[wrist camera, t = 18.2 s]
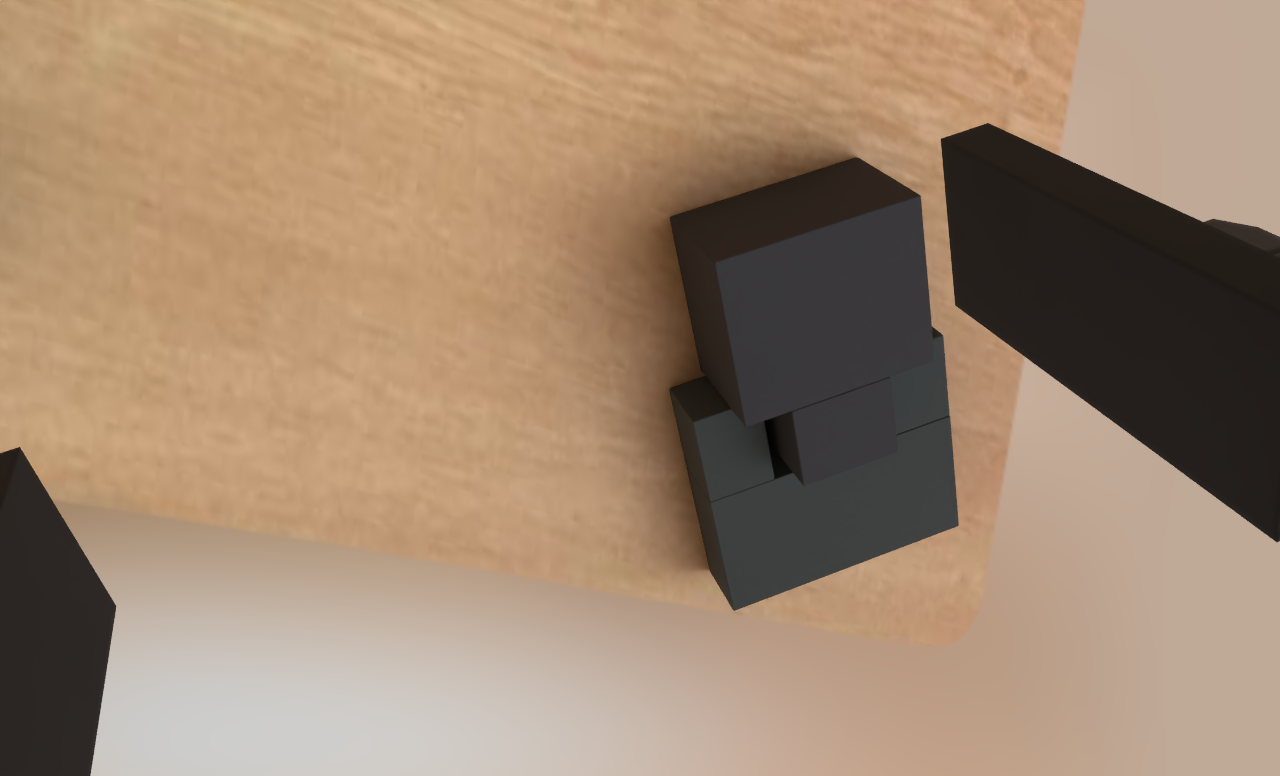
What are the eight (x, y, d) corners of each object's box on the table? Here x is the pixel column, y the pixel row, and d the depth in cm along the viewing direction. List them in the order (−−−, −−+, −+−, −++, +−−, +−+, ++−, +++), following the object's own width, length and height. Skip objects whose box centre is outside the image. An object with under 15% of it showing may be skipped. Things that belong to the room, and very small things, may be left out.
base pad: (907, 306, 50) (944, 334, 47) (925, 491, 55) (959, 526, 52) (668, 388, 48) (692, 422, 45) (710, 571, 53) (733, 611, 50)
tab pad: (857, 156, 46) (921, 194, 41) (883, 382, 51) (941, 437, 47) (668, 216, 44) (714, 262, 40) (715, 441, 50) (759, 503, 46)
